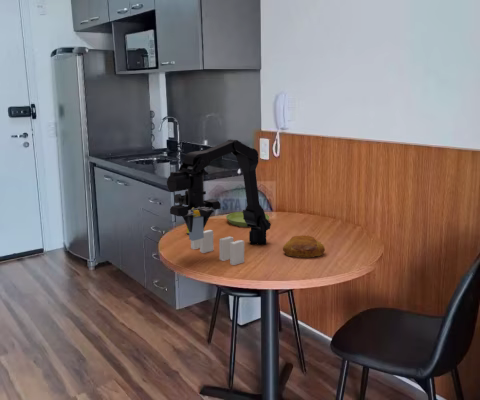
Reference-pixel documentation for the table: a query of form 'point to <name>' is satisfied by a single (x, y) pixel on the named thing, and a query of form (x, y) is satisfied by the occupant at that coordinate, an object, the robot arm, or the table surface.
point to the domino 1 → (197, 229)
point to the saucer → (239, 219)
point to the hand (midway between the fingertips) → (196, 230)
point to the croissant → (303, 247)
